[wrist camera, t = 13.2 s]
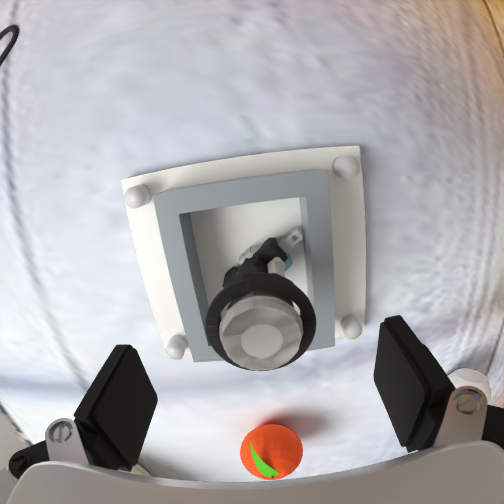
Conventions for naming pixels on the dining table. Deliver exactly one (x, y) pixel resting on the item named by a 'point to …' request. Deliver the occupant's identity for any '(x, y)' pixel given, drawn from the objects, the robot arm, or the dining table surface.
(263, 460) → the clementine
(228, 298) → the push button
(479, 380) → the white rounded piece
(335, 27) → the dining table surface
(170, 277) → the frame
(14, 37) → the cable
